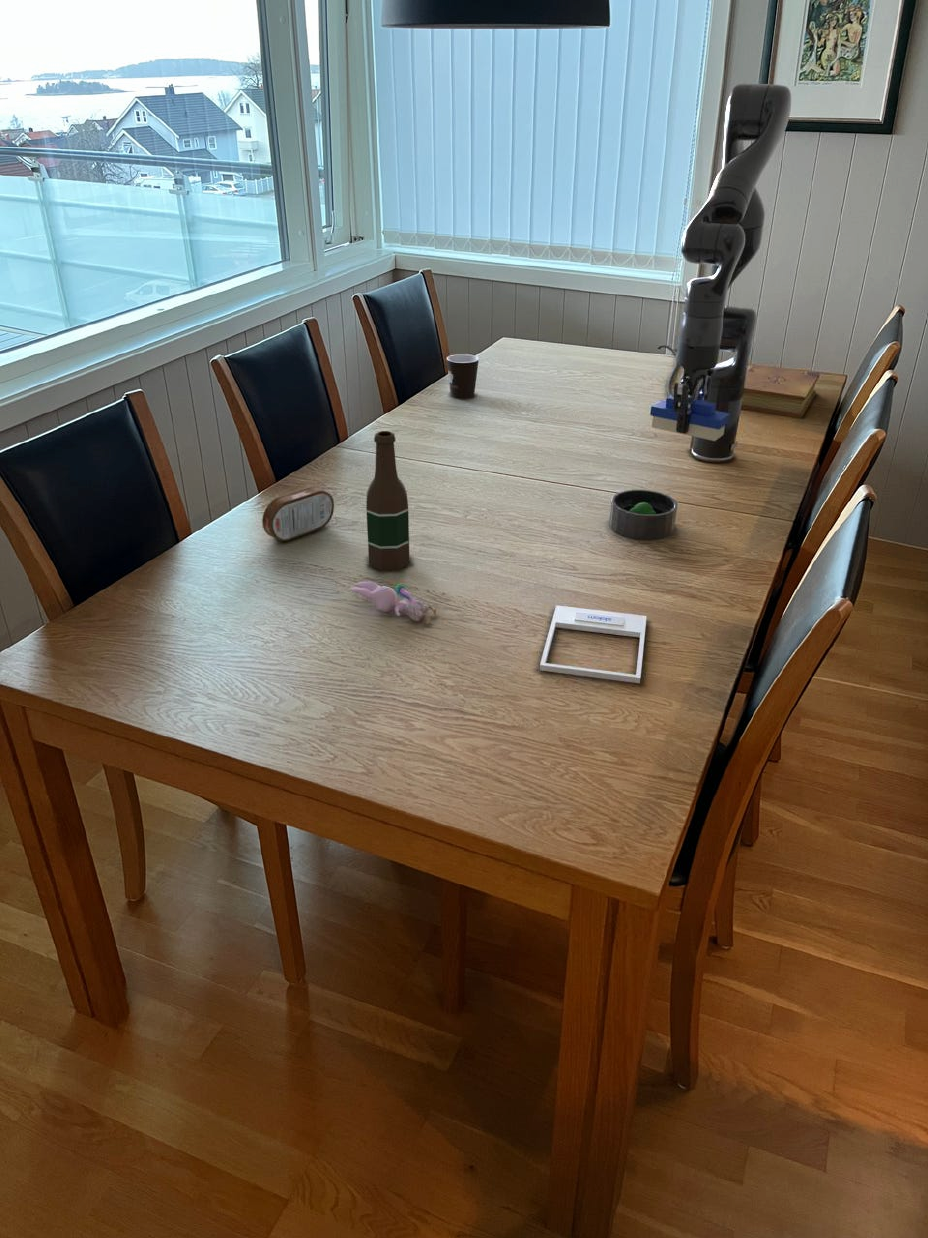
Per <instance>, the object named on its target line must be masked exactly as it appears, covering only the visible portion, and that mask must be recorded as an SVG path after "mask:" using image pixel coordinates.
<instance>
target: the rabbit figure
mask: <svg viewBox="0 0 928 1238" xmlns="http://www.w3.org/2000/svg"><path fill="white" fill-rule="evenodd" d="M353 586H354V587H350V588H349V591H352V592H355V593H357V594H359V595H360V596H361V597H363V598H365V599H366V600H369V601H370V602H372V604H373V605H374V607H375V608H377V609H378V610H379V611H381V612H382V613H390V612H391V611H394V612H395V614H396V616H397V617H400V616H401V614H406V615H407V616H408V617H409V618H410V620H412V621H413V622H415V623H417V622H420V621H422V619H423V618H426V622H425V624H426V625H427V626H428V625H429V624H428V623H429V622H431V621H430V617H431V616H430V615H429V614H428V612H429V611H430V610H431V611H432V613H433V615H432V617H433V618H436V616H437V608H433V606H432V605H426V604H424V603H423V602H422V601H421V600H418V598H417V596H414V597H412V596H411V594H410V593H409V592H408V591H407V590H406V589H405V588H406V585H405V584H403V583H398V584H397V585H396V587H395V590H394V589H393V588H391V587H389V586H385V585H382V586H380V585H379V584H378V583H375V582H373V581H368V580H364V581H360V582H356V583H354V584H353ZM399 597H400V598H403V600H399ZM427 614H428V615H427Z"/></svg>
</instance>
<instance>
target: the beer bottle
mask: <svg viewBox="0 0 928 1238" xmlns="http://www.w3.org/2000/svg"><path fill="white" fill-rule="evenodd" d="M396 441H397V440H396V434H395V433H394V432H391V431H389V430H382V431H378V432H375V433H374V438H373V442H374V443H375V471H374V477H373V478H372V480H371V482H370V483H369V485H368V488H367V491H366V510H365V511H366V527H367V547H368V549H367V550H368V561H369V565H370V567H372V568H374V569H376V570H379V571H382V572H383V571H385V572H386V571H398V570H399V571H400V570H401V569H403V568H404V567H407V566H409V564H410V524H409V519H410V518H409V501H408V492H407V489H406V486H405V484H404V483H403V482H402V480H401V479H400V477H399V475H398V471H397V462H396V453H395V452H396V451H395V442H396Z"/></svg>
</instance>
